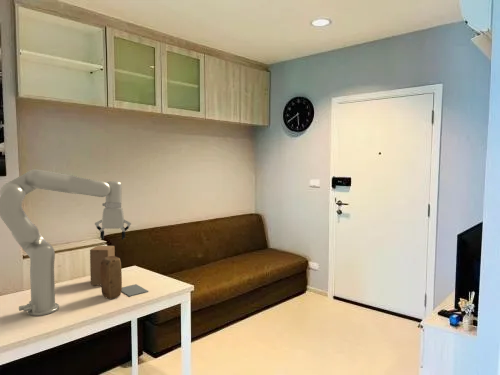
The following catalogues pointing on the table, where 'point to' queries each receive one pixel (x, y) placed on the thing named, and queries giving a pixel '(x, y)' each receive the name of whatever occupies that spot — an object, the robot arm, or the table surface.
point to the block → (111, 277)
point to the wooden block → (99, 261)
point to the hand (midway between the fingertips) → (112, 239)
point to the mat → (133, 290)
